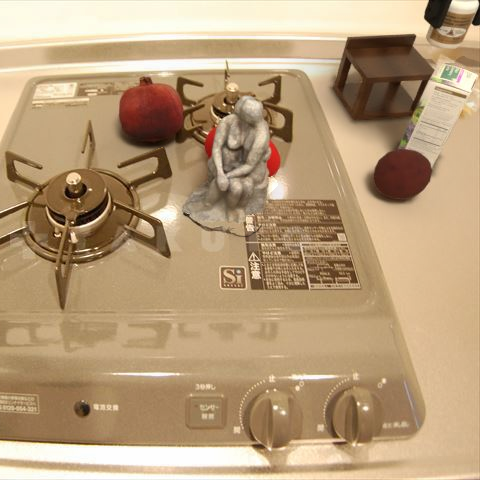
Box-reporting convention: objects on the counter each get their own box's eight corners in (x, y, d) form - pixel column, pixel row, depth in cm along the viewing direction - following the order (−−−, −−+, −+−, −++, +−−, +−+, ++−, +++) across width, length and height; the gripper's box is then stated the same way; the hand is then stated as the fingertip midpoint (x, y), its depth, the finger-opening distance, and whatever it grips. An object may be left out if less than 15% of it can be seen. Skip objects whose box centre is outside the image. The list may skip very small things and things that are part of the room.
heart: (210, 98, 77) (214, 139, 86) (194, 128, 76) (199, 166, 85) (290, 123, 74) (285, 163, 83) (274, 155, 72) (271, 192, 81)
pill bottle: (427, 48, 69) (451, -15, 63) (423, 31, 72) (446, -30, 66) (463, 52, 68) (492, -11, 62) (458, 35, 71) (485, -27, 65)
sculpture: (182, 80, 67) (269, 71, 70) (170, 194, 79) (244, 182, 82) (217, 130, 59) (312, 117, 63) (198, 247, 72) (278, 231, 75)
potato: (430, 198, 80) (450, 160, 74) (392, 216, 77) (410, 178, 72) (393, 170, 84) (409, 132, 79) (355, 185, 81) (370, 147, 76)
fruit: (110, 148, 88) (98, 84, 84) (155, 132, 94) (145, 72, 90) (156, 152, 80) (144, 82, 76) (201, 134, 86) (192, 69, 82)
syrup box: (401, 143, 89) (436, 60, 78) (438, 155, 87) (480, 72, 76) (391, 162, 85) (427, 78, 75) (430, 175, 83) (472, 91, 73)
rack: (395, 84, 101) (414, 33, 93) (420, 116, 94) (443, 63, 87) (332, 88, 99) (347, 36, 92) (353, 120, 93) (371, 67, 85)
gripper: (575, -167, 58) (496, 4, 71) (427, -162, 56) (374, 13, 70) (627, -149, 53) (531, 32, 66) (466, -143, 51) (401, 41, 65)
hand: (451, 20), depth 68 cm, fingers closed on pill bottle, 4 cm apart
